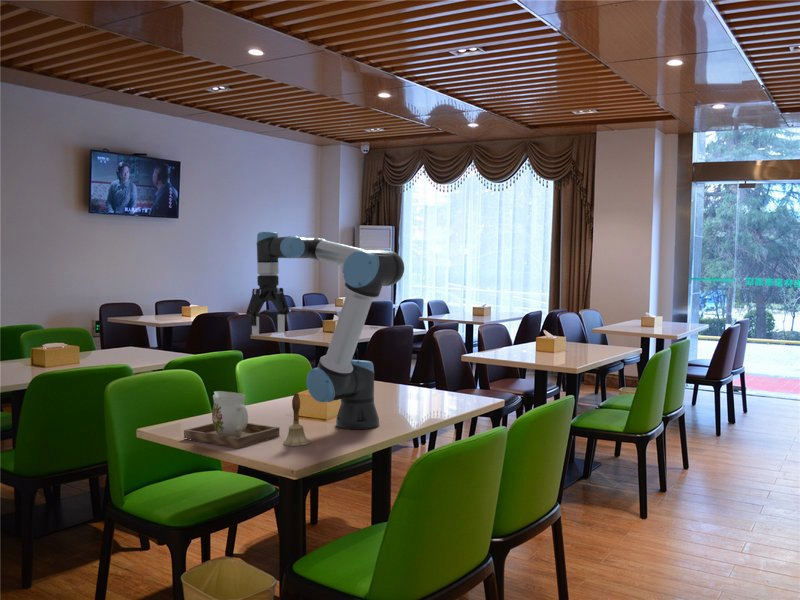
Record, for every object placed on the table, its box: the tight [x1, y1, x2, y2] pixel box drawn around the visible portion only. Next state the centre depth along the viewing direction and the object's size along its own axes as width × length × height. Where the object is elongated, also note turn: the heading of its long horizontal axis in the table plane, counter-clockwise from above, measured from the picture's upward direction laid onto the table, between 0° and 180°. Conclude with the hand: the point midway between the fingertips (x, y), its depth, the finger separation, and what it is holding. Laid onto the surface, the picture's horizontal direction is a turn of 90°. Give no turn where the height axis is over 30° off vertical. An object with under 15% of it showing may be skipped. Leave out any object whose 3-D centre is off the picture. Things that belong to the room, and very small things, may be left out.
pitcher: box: [211, 390, 249, 437], centre depth 241 cm, size 11×18×14 cm, turn 46°
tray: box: [183, 422, 280, 449], centre depth 241 cm, size 24×19×3 cm
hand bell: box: [282, 392, 310, 447], centre depth 233 cm, size 8×8×16 cm
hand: (268, 333), depth 267 cm, fingers open, 13 cm apart
